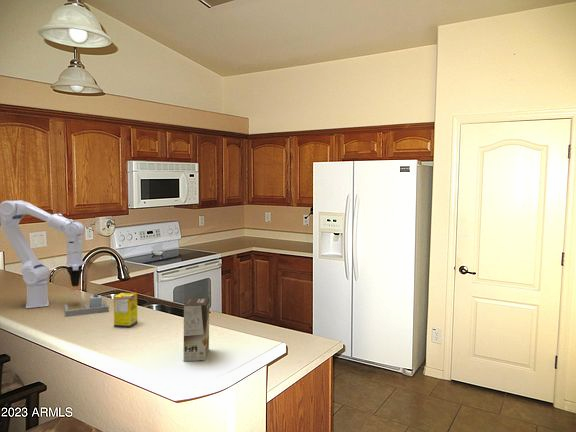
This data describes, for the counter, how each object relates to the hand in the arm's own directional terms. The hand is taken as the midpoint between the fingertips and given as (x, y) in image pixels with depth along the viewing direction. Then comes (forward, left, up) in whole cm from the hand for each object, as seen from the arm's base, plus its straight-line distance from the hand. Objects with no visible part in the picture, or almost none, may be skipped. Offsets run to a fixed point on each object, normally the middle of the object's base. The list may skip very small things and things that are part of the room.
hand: (74, 284), depth 172 cm
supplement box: (+35, +15, -9) cm, 39 cm away
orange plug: (0, 0, -2) cm, 2 cm away
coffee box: (+73, +29, -9) cm, 79 cm away
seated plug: (+9, +7, -9) cm, 14 cm away
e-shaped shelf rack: (+9, +4, -9) cm, 13 cm away
